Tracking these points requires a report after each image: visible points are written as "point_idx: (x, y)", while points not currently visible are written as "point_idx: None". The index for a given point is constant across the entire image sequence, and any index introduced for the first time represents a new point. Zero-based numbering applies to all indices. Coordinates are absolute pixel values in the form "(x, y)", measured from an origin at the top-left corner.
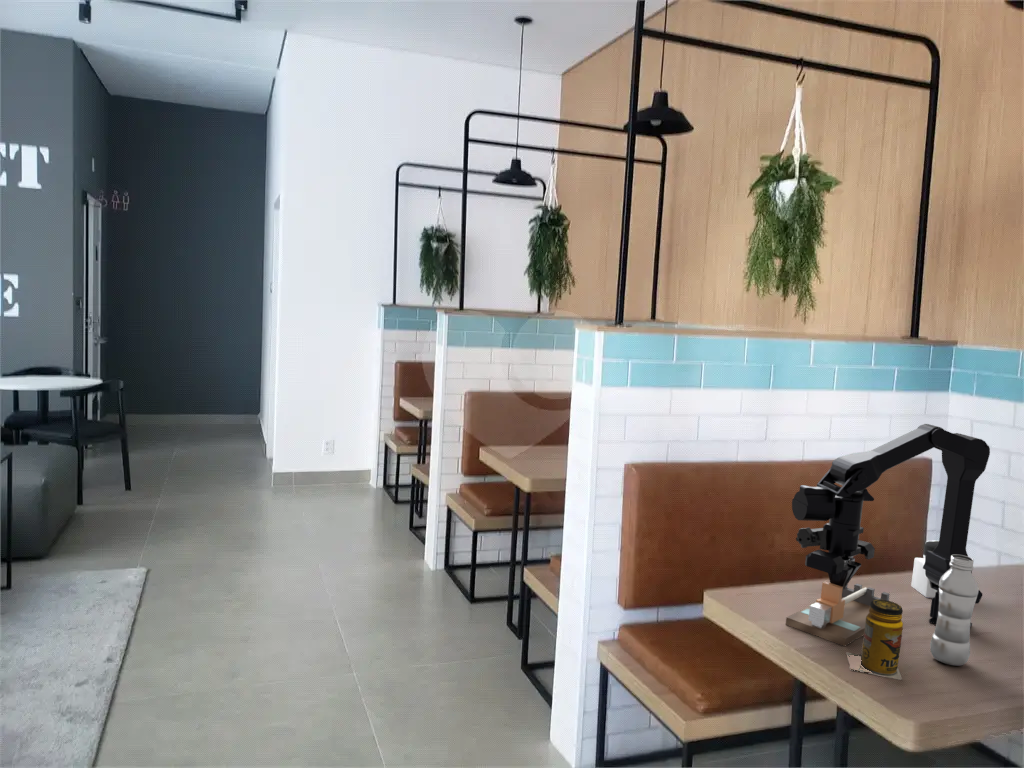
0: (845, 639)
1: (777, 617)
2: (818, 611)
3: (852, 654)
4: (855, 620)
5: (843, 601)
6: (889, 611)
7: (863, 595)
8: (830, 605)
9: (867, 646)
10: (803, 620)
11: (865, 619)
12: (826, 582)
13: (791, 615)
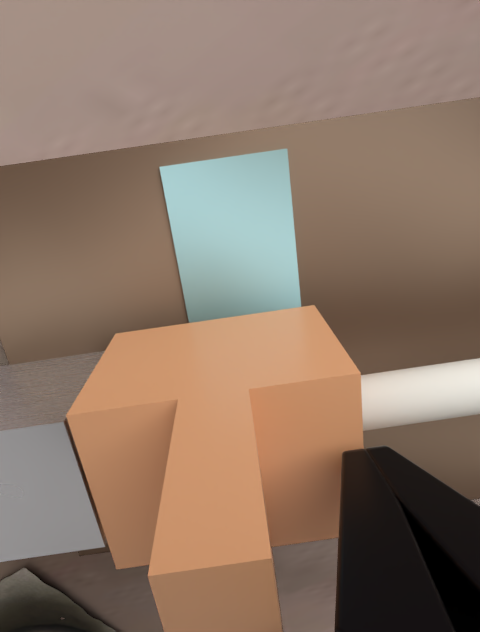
0: (80, 552)
1: (17, 38)
2: None
3: (35, 588)
4: (401, 442)
5: (329, 534)
6: None
7: None
8: (107, 538)
9: None
10: (38, 286)
11: (472, 459)
12: (230, 600)
13: (18, 171)
